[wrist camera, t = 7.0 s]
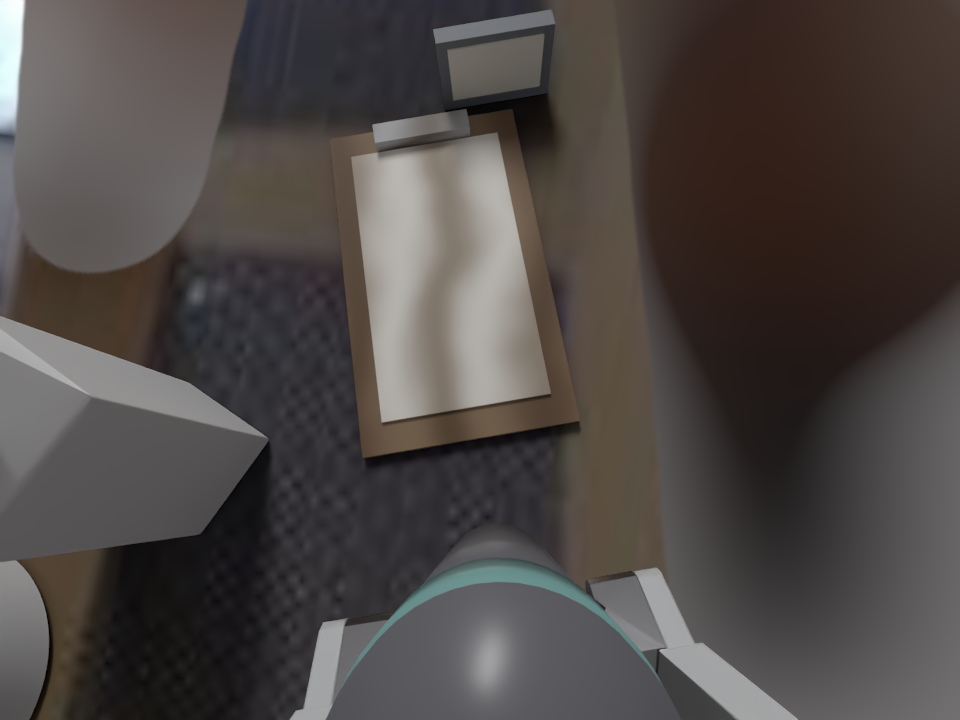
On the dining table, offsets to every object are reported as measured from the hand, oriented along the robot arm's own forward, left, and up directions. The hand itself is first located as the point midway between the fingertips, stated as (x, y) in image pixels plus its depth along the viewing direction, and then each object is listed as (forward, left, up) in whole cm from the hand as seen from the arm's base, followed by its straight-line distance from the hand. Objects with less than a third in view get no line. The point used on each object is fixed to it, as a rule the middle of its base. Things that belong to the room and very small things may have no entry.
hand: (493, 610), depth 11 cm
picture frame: (+5, +32, -21) cm, 39 cm away
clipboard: (-1, +18, -21) cm, 28 cm away
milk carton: (-19, +8, -21) cm, 29 cm away
